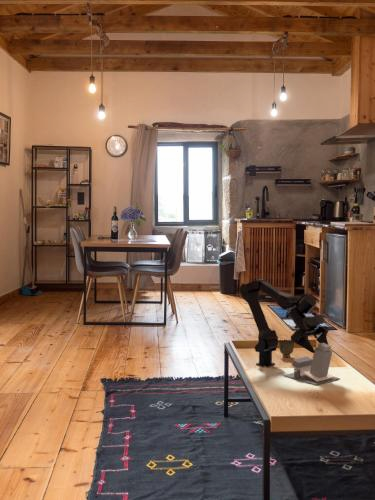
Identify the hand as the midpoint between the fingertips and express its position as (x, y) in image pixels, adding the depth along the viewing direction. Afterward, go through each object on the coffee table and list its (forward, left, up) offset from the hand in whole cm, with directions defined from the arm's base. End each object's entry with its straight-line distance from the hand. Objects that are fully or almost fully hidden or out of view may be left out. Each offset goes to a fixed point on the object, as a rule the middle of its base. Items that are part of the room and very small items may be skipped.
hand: (321, 351), depth 216 cm
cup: (-28, -29, -12) cm, 42 cm away
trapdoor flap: (-1, -5, -10) cm, 11 cm away
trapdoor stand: (-1, -5, -12) cm, 13 cm away
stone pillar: (0, -1, -10) cm, 10 cm away
